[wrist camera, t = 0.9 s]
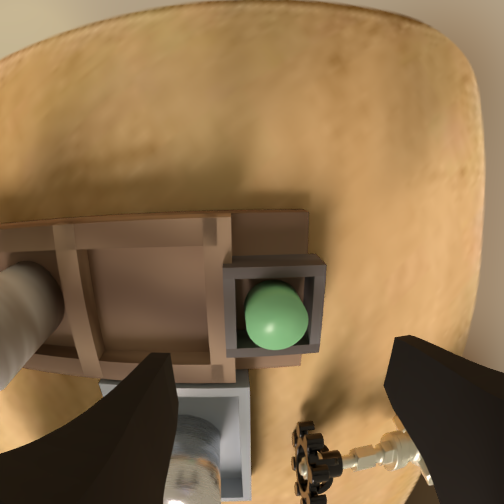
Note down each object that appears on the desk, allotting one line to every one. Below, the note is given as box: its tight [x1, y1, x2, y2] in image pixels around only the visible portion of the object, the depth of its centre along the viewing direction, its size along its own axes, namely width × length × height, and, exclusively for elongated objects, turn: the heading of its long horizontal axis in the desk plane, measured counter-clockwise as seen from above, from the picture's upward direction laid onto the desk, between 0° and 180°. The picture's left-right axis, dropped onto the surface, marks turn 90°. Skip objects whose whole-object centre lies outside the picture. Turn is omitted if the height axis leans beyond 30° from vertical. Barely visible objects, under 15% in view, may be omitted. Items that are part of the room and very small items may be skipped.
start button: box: [244, 280, 308, 350], centre depth 14 cm, size 3×3×2 cm
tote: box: [99, 369, 251, 501], centre depth 18 cm, size 12×8×2 cm
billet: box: [163, 415, 221, 504], centre depth 16 cm, size 4×4×6 cm
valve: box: [291, 415, 434, 504], centre depth 17 cm, size 7×7×12 cm
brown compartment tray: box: [0, 209, 327, 391], centre depth 13 cm, size 8×20×7 cm, turn 90°
